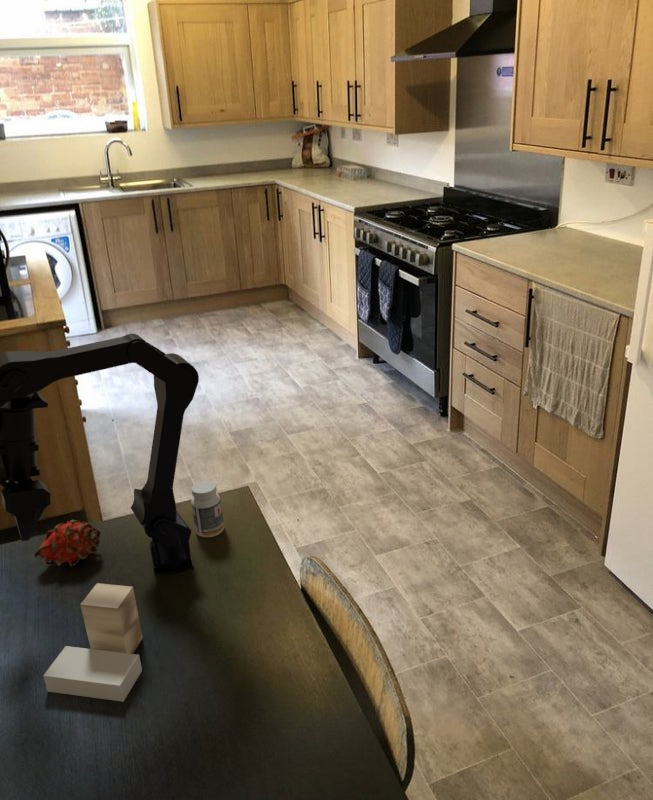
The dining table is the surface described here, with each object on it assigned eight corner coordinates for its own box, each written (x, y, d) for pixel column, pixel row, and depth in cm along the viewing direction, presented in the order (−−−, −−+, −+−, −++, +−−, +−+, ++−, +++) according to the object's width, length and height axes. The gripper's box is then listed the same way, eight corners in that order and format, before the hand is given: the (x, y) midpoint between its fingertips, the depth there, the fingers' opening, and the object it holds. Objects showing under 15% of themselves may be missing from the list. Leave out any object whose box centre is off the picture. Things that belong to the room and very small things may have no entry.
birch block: (108, 633, 112) (97, 582, 108) (143, 637, 111) (133, 586, 107) (92, 656, 107) (80, 604, 104) (128, 661, 106) (117, 608, 102)
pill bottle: (229, 524, 140) (224, 481, 136) (216, 540, 135) (210, 496, 131) (204, 520, 141) (198, 477, 138) (190, 536, 136) (183, 492, 133)
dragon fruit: (111, 558, 134) (48, 585, 130) (97, 520, 137) (35, 545, 133) (104, 543, 126) (37, 571, 123) (89, 503, 130) (23, 529, 126)
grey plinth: (69, 661, 107) (65, 646, 106) (142, 670, 104) (139, 654, 103) (47, 691, 101) (43, 675, 100) (123, 701, 99) (120, 685, 98)
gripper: (-51, 422, 110) (-43, 512, 115) (-37, 464, 95) (-30, 566, 100) (25, 415, 116) (29, 500, 121) (49, 453, 101) (53, 550, 106)
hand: (20, 527), depth 111 cm, fingers open, 9 cm apart
